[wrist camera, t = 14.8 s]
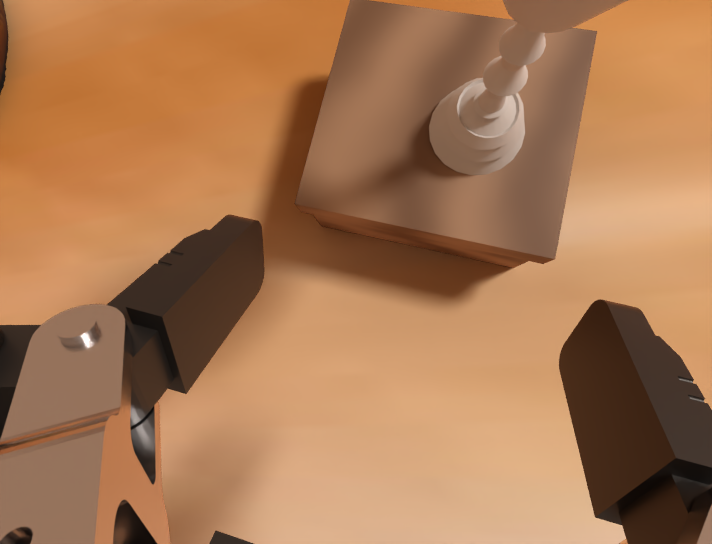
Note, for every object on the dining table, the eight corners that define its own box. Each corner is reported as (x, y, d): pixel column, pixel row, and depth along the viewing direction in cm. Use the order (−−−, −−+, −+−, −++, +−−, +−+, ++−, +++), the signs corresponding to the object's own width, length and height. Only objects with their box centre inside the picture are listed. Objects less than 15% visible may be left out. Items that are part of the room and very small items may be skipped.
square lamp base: (557, 88, 25) (596, 31, 20) (520, 272, 24) (554, 259, 19) (358, 57, 27) (350, -3, 22) (313, 227, 25) (294, 203, 21)
